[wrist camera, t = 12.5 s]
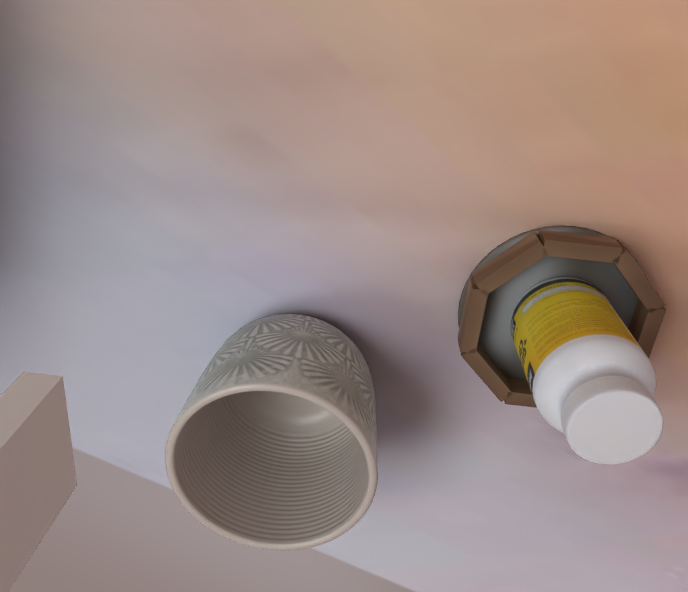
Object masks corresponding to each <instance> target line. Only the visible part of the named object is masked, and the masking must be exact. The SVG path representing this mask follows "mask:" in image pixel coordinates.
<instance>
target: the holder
mask: <svg viewBox="0 0 688 592" xmlns="http://www.w3.org/2000/svg"><path fill="white" fill-rule="evenodd" d="M561 277H570V278H577V279H581V280H584V281H587V282H589V283H591V284H592V285H594V286H595V287H597V288H598V289H599V290H600V291H601V292H602V293H603V294H604V295H605V297H606V298H607V300H608V301H609V303H610V304H611V306H612V307H613V309H614V310H615V312H616V313H617V314H618V316H619V317H620V319H621V320H622V322H623V323H624V324H625V326H626V327H627V329H628V330H629V331H630V333H631V334H632V336H633V337H634V339H635V340H636V341H637V343H638V344H639V346H640V347H641V348H642V350H643V351H644V353H645V354H646V355H647V357H648V358H649V356H650V353H651V350H652V347H653V344H654V342H655V339H656V336H657V333H658V330H659V328H660V325H661V322H662V319H663V316H664V313H665V311H666V309H665V308H664V307H663V306H664V305H665V304H664V302H663V301H662V299H661V298H660V297H659V295H658V294H657V292H656V291H655V289H654V288H653V287H652V285H651V284H650V282H649V281H648V279H647V278H646V276H645V274H644V272H643V270H642V269H641V267H640V265H639V264H638V263H637V261H636V260H635V259H634V258H633V257H632V255H631V254H630V253H629V252H628V251H627V250H626V248H625V247H624V246H623V245H622V244H621V243H620V242H619V241H618V240H617V241H616V240H615V239H614V238H613V237H608V236H606V235H603V234H601V233H599V232H596V231H593V230H590V229H587V228H581V227H575V226H550V227H543V228H538V229H534V230H531V231H528V232H524V233H521V234H519V235H517V236H515V237H513V238H511V239H509V240H507V241H505V242H504V243H502V244H500V245H499V246H497V247H496V248H495V249H494V250H492V251H491V252H490V253H489V254H488V255H487V256H486V257H485V258H484V259H483V260H481V261H480V263H479V264H478V265H477V266H476V268H475V269H474V270H473V272H472V273H471V275H470V277H469V278H468V280H467V282H466V284H465V286H464V289H463V291H462V294H461V298H460V302H459V310H458V324H459V334H458V342H459V347H460V352H461V356H462V357H463V358H464V359H465V361H466V362H467V363H468V364H469V365H470V366H471V368H472V369H473V370H474V371H475V372H476V373H477V375H478V376H479V377H480V378H481V379H482V380H483V382H484V383H485V384H486V385H487V386H488V387H489V388H490V390H491V391H492V392H493V393H494V394H495V395H496V397H497V398H498V399H499V400H500V401H501V402H502V401H503V400H504V401H505V404H510V405H519V406H528V407H537V406H536V404H535V401H534V399H533V396H532V393H531V390H530V387H529V384H528V381H527V378H526V375H525V372H524V369H523V367H522V364H521V361H520V358H519V355H518V352H517V350H516V347H515V344H514V341H513V338H512V335H511V326H510V325H511V317H512V313H513V310H514V308H515V306H516V304H517V302H518V301H519V299H520V298H521V297H522V296H523V295H524V294H525V293H526V292H527V291H528V290H530V289H531V288H532V287H534V286H535V285H537V284H539V283H541V282H543V281H546V280H550V279H554V278H561Z"/></svg>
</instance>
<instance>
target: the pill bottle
mask: <svg viewBox="0 0 688 592" xmlns="http://www.w3.org/2000/svg"><path fill="white" fill-rule="evenodd" d="M510 326H511V335H512V338H513V341H514V344H515V347H516V350H517V352H518V355H519V358H520V361H521V364H522V367H523V369H524V372H525V375H526V378H527V381H528V384H529V387H530V390H531V393H532V396H533V399H534V401H535V404H536V406H537V409H538V411H539V412H540V414H541V415H542V417H543V418H544V419H545V420H546V421H547V422H548V423H549V424H550V425H551V426H552V427H554V428H555V429H557V430H558V431H560V432H562V433H564V434H565V436H566V439H567V441H568V443H569V445H570V447H571V448H572V449H573V451H574V452H575V453H576V454H578V455H579V456H580V457H582V458H584V459H585V460H588V461H590V462H593V463H598V464H606V465H610V464H621V463H625V462H628V461H631V460H634V459H636V458H638V457H640V456H642V455H643V454H645V453H646V452H647V451H648V450H650V449H651V448H652V447H653V446H654V444H655V443H656V442H657V440H658V438H659V437H660V435H661V432H662V428H663V417H662V414H661V411H660V408H659V407H658V405H657V403H656V401H655V400H654V395H655V390H656V376H655V372H654V369H653V366H652V364H651V362H650V360H649V358H648V357H647V355H646V354H645V353H644V351H643V350H642V348H641V347H640V346H639V344H638V343H637V341H636V340H635V339H634V337H633V336H632V334H631V333H630V331H629V330H628V329H627V327H626V326H625V324H624V323H623V322H622V320H621V319H620V317H619V316H618V314H617V313H616V312H615V310H614V309H613V307H612V306H611V304H610V303H609V301H608V300H607V298H606V297H605V295H604V294H603V293H602V292H601V291H600V290H599V289H598V288H597V287H595V286H594V285H592V284H591V283H589V282H587V281H584V280H581V279H577V278H570V277H561V278H554V279H550V280H546V281H543V282H541V283H539V284H537V285H535V286H534V287H532V288H531V289H530V290H528V291H527V292H526V293H525V294H524V295H523V296H522V297H521V298H520V299H519V301H518V302H517V304H516V306H515V308H514V310H513V313H512V317H511V325H510Z"/></svg>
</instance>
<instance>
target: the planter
mask: <svg viewBox="0 0 688 592" xmlns="http://www.w3.org/2000/svg"><path fill="white" fill-rule="evenodd" d="M165 463H166V470H167V475H168V478H169V481H170V483H171V486H172V488H173V490H174V492H175V494H176V495H177V497H178V499H179V500H180V502H181V503H182V504H183V505H184V507H185V508H186V509H187V510H188V511H189V512H190V513H191V514H192V515H193V516H194V517H195V518H196V519H197V520H198V521H200V522H201V523H202V524H204V525H205V526H206V527H208V528H209V529H211V530H212V531H214V532H216V533H217V534H220V535H221V536H224V537H226V538H228V539H230V540H233V541H235V542H238V543H241V544H244V545H248V546H252V547H257V548H262V549H271V550H296V549H303V548H309V547H313V546H317V545H320V544H323V543H326V542H328V541H331V540H333V539H335V538H337V537H339V536H340V535H342V534H344V533H345V532H346V531H348V530H349V529H351V528H352V527H353V526H354V525H355V524H356V523H357V522H358V521H359V520H360V519H361V518H362V517H363V516H364V514H365V513H366V511H367V510H368V508H369V506H370V505H371V503H372V500H373V498H374V495H375V491H376V487H377V480H378V466H377V417H376V400H375V393H374V387H373V381H372V377H371V374H370V370H369V368H368V365H367V363H366V361H365V359H364V357H363V355H362V353H361V352H360V350H359V349H358V347H357V346H356V345H355V344H354V343H353V342H352V340H351V339H350V338H348V337H347V336H346V335H345V334H344V333H343V332H341V331H340V330H339V329H337V328H336V327H334V326H332V325H331V324H329V323H327V322H325V321H322V320H320V319H317V318H314V317H310V316H305V315H300V314H278V315H272V316H267V317H264V318H261V319H258V320H255V321H253V322H251V323H249V324H247V325H245V326H244V327H242V328H241V329H240V330H238V331H237V332H235V333H234V334H233V335H232V336H231V337H230V338H229V339H228V340H227V341H226V342H225V343H224V344H223V345H222V347H221V348H220V349H219V350H218V352H217V353H216V354H215V356H214V357H213V358H212V360H211V362H210V363H209V365H208V366H207V368H206V369H205V371H204V373H203V374H202V376H201V377H200V379H199V381H198V383H197V384H196V386H195V388H194V389H193V391H192V393H191V395H190V396H189V398H188V400H187V402H186V404H185V405H184V407H183V409H182V411H181V412H180V414H179V416H178V418H177V420H176V421H175V423H174V425H173V427H172V429H171V431H170V433H169V436H168V440H167V444H166V450H165Z"/></svg>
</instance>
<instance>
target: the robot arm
mask: <svg viewBox="0 0 688 592" xmlns="http://www.w3.org/2000/svg"><path fill="white" fill-rule="evenodd" d="M72 451H73V450H72V443H71V436H70V428H69V421H68V413H67V406H66V398H65V391H64V384H63V377H62V376H54V375H45V374H36V373H27V372H23V373H22V374H21V375H20V376H19V377H18V378H17V379H16V381H15V382H14V383H13V384H12V385H11V386H10V387H9V388H8V389H7V390H6V391H5V392H4V393H3V394H2V395H1V396H0V592H9V590H10V589H11V587H12V586H13V584H14V583H15V581H16V579H17V578H18V576H19V575H20V573H21V572H22V570H23V569H24V567H25V565H26V564H27V562H28V561H29V559H30V558H31V556H32V555H33V553H34V551H35V550H36V548H37V547H38V545H39V544H40V542H41V540H42V539H43V537H44V535H45V534H46V533H47V531H48V530H49V528H50V526H51V525H52V523H53V522H54V520H55V519H56V517H57V516H58V514H59V512H60V511H61V509H62V508H63V506H64V505H65V503H66V501H67V500H68V498H69V497H70V495H71V494H72V492H73V491H74V489H75V487H76V486H77V480H76V473H75V465H74V458H73V452H72Z"/></svg>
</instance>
